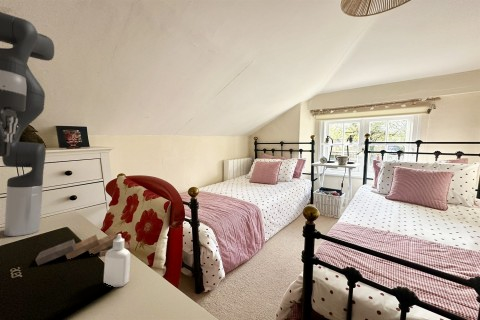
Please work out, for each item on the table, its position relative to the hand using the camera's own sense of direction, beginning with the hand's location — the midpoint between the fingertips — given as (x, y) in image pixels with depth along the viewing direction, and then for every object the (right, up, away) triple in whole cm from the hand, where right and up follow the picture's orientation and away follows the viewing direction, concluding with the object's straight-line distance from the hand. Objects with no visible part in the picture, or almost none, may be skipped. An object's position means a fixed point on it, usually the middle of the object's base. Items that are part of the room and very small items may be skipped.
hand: (2, 156), depth 56 cm
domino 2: (+17, -29, +9) cm, 35 cm away
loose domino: (+7, -29, +3) cm, 30 cm away
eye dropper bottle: (+33, -32, -4) cm, 46 cm away
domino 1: (+12, -29, +6) cm, 32 cm away
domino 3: (+19, -30, +10) cm, 37 cm away
